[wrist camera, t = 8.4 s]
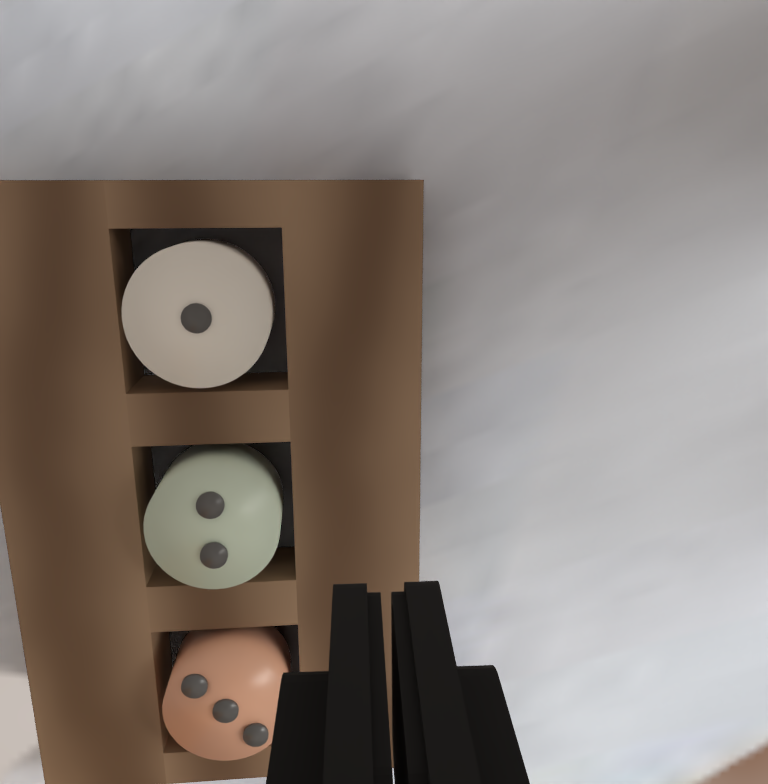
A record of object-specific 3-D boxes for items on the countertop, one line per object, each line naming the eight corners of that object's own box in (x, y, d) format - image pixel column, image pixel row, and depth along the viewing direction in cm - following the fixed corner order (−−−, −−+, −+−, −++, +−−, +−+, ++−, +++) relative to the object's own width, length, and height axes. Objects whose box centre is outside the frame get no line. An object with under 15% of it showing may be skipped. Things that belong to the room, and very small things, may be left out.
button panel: (413, 181, 24) (423, 179, 22) (408, 720, 30) (416, 765, 28) (-14, 182, 23) (-52, 180, 21) (69, 743, 29) (46, 792, 27)
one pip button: (272, 237, 23) (266, 243, 21) (278, 367, 25) (273, 387, 22) (136, 238, 23) (112, 244, 20) (148, 370, 24) (127, 391, 22)
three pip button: (288, 610, 27) (285, 654, 25) (293, 706, 28) (290, 759, 26) (172, 616, 27) (155, 662, 24) (181, 714, 28) (167, 767, 25)
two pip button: (281, 437, 25) (276, 465, 23) (286, 549, 26) (282, 588, 24) (155, 441, 25) (136, 471, 22) (166, 554, 26) (148, 594, 23)
